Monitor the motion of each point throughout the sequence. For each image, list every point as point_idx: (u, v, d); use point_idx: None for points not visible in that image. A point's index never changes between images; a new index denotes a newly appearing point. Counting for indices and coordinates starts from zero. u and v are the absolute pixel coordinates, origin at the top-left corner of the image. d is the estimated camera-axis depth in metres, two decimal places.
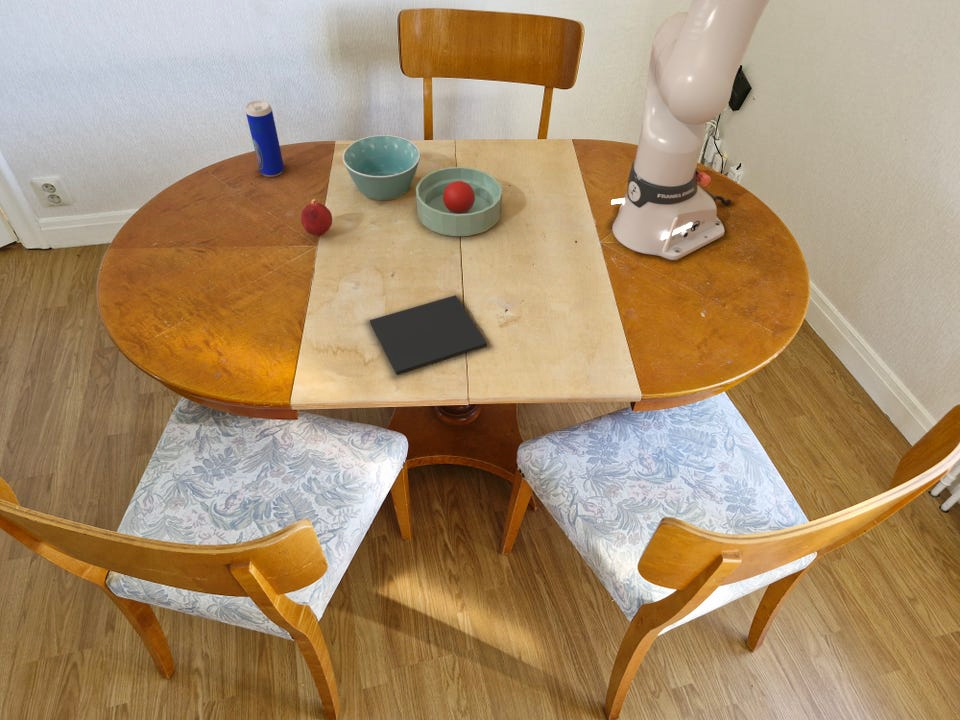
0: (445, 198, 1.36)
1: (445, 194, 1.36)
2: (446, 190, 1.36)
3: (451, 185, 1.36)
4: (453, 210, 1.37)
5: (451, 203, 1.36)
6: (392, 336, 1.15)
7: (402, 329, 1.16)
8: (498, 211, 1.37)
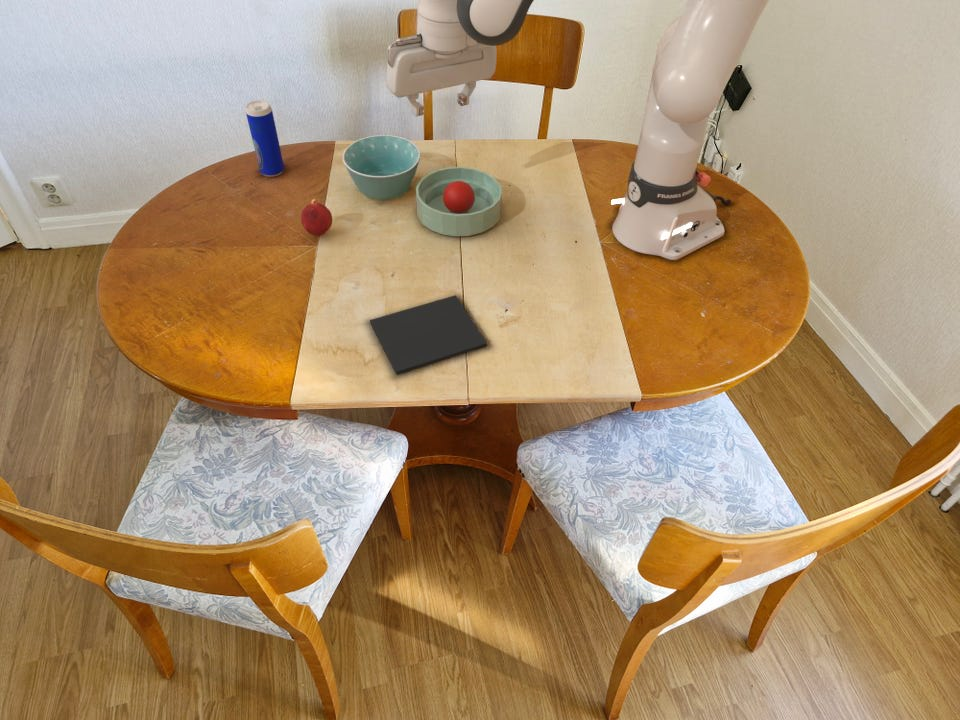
0: (445, 198, 1.36)
1: (445, 194, 1.36)
2: (446, 190, 1.36)
3: (451, 185, 1.36)
4: (453, 210, 1.37)
5: (451, 203, 1.36)
6: (392, 336, 1.15)
7: (402, 329, 1.16)
8: (498, 211, 1.37)
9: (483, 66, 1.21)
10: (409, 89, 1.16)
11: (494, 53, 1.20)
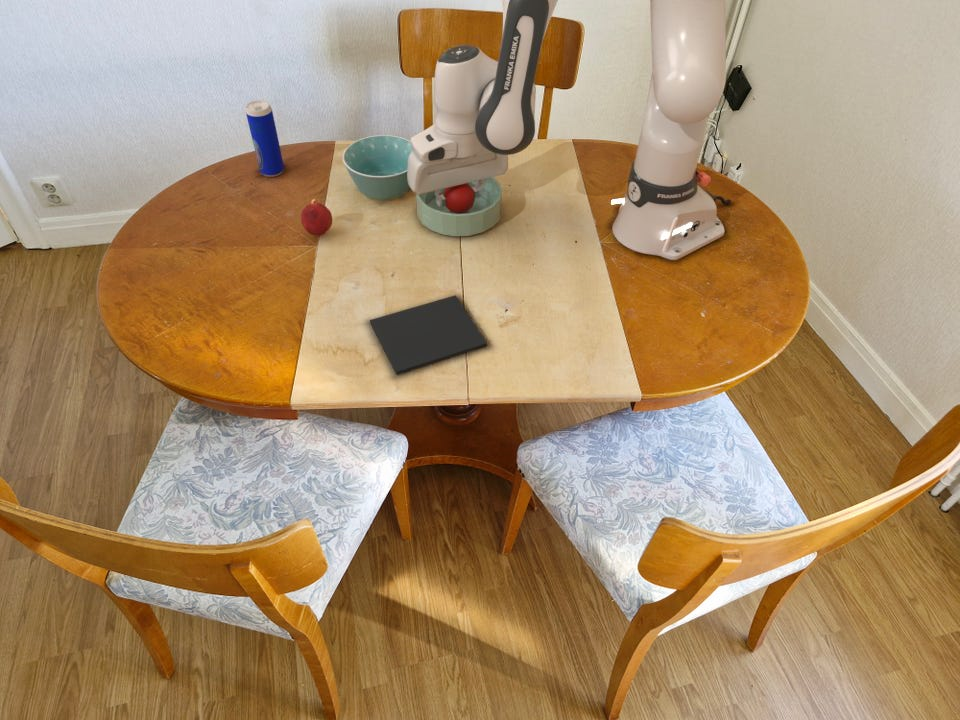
0: None
1: (445, 194, 1.36)
2: (446, 190, 1.36)
3: None
4: (453, 210, 1.37)
5: (451, 203, 1.36)
6: (392, 336, 1.15)
7: (402, 329, 1.16)
8: (498, 211, 1.37)
9: None
10: None
11: None
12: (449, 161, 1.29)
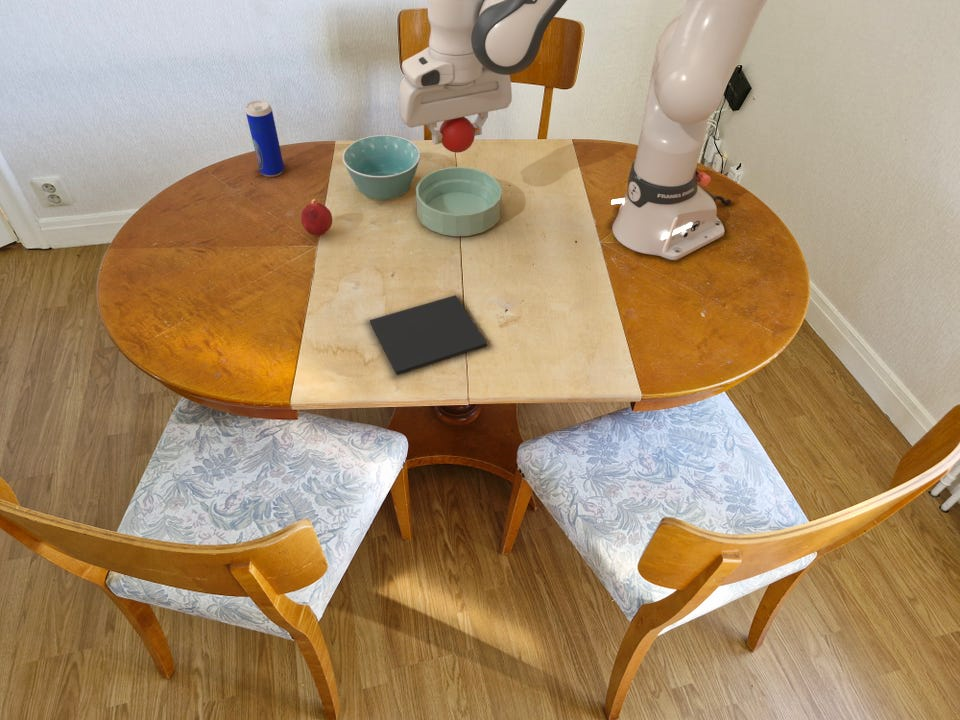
0: None
1: (441, 130, 1.23)
2: (442, 125, 1.23)
3: None
4: (450, 148, 1.23)
5: (448, 139, 1.22)
6: (392, 336, 1.15)
7: (402, 329, 1.16)
8: (498, 211, 1.37)
9: None
10: None
11: None
12: (445, 89, 1.15)
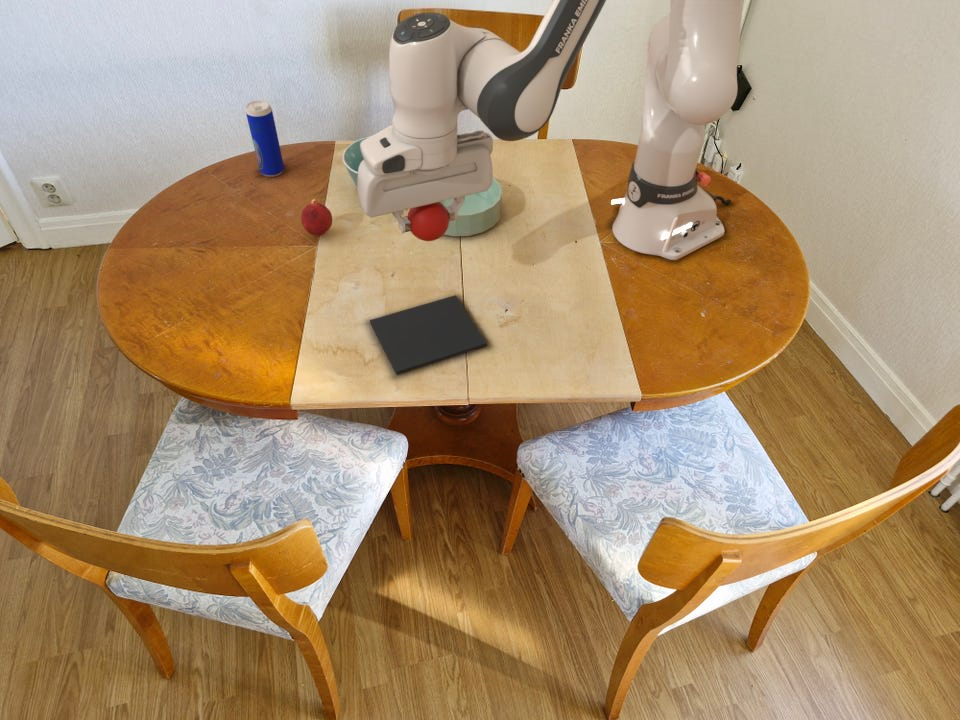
0: None
1: (409, 216, 1.03)
2: (411, 211, 1.03)
3: None
4: (420, 237, 1.04)
5: (417, 228, 1.03)
6: (392, 336, 1.15)
7: (402, 329, 1.16)
8: (498, 211, 1.37)
9: None
10: None
11: None
12: (412, 174, 0.96)
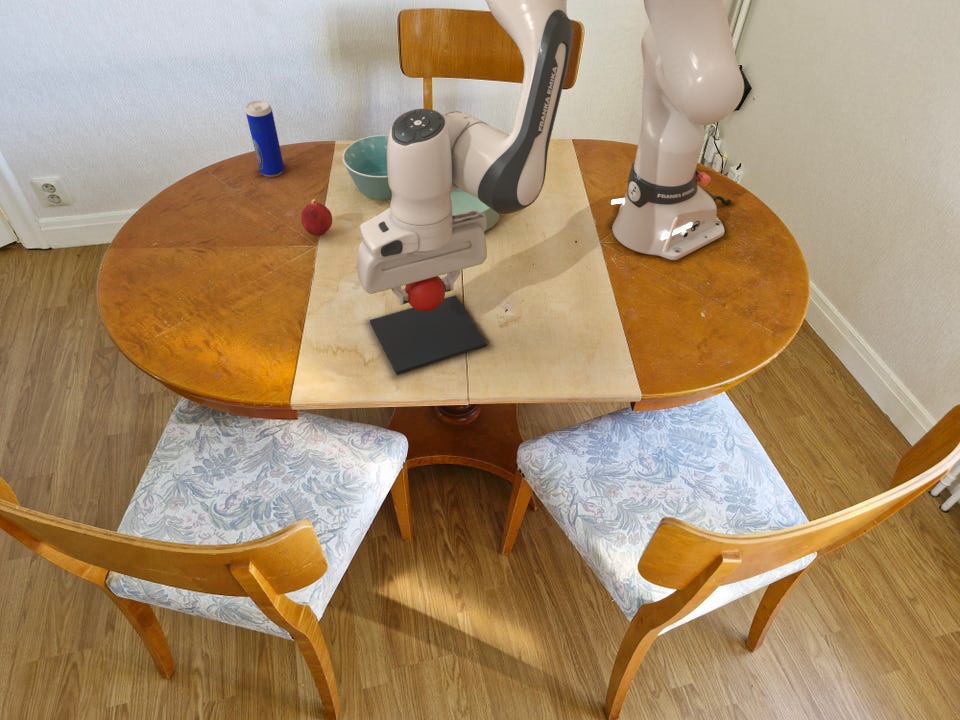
0: None
1: (407, 289, 1.08)
2: (408, 284, 1.08)
3: None
4: (417, 308, 1.09)
5: (414, 301, 1.08)
6: (392, 336, 1.15)
7: (402, 329, 1.16)
8: None
9: None
10: None
11: None
12: (410, 254, 1.01)
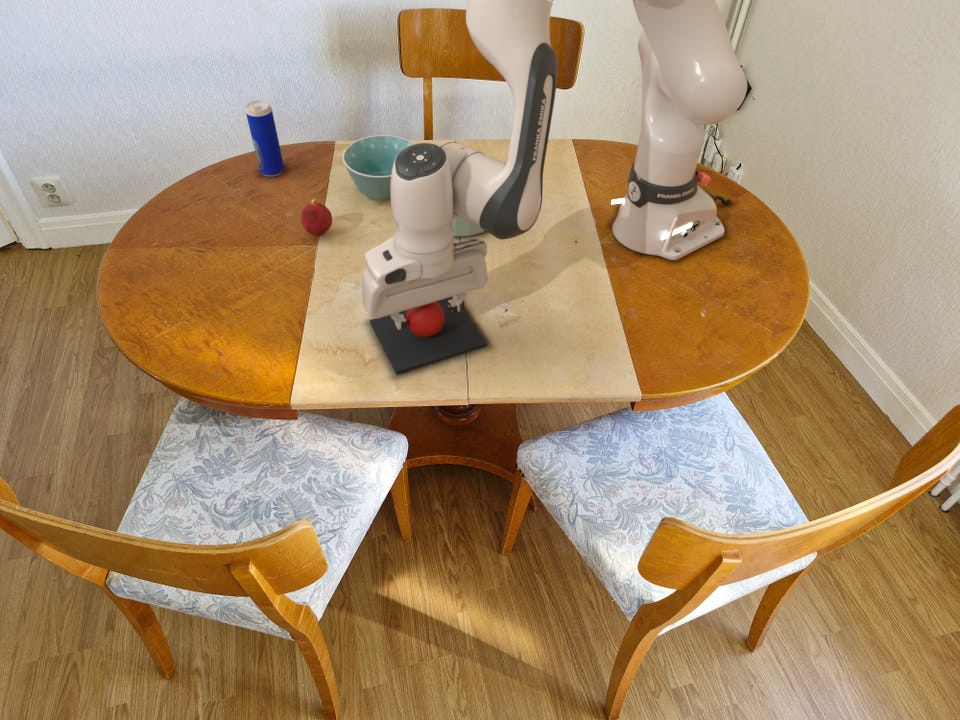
0: (408, 321, 1.12)
1: (408, 317, 1.12)
2: (409, 312, 1.12)
3: None
4: (419, 335, 1.13)
5: (415, 329, 1.12)
6: (392, 336, 1.15)
7: (402, 329, 1.16)
8: None
9: None
10: None
11: None
12: (413, 280, 1.04)
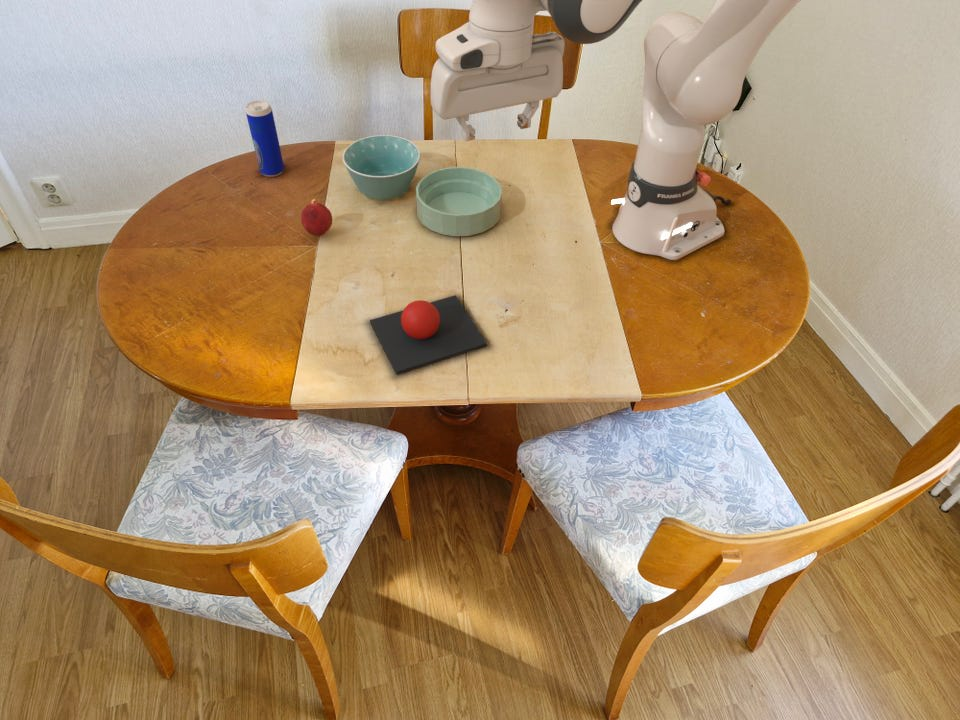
0: (403, 328, 1.13)
1: (402, 323, 1.12)
2: (402, 319, 1.12)
3: (405, 312, 1.11)
4: (417, 338, 1.13)
5: (410, 334, 1.12)
6: (392, 336, 1.15)
7: (402, 329, 1.16)
8: (498, 211, 1.37)
9: None
10: None
11: None
12: (487, 73, 0.96)
